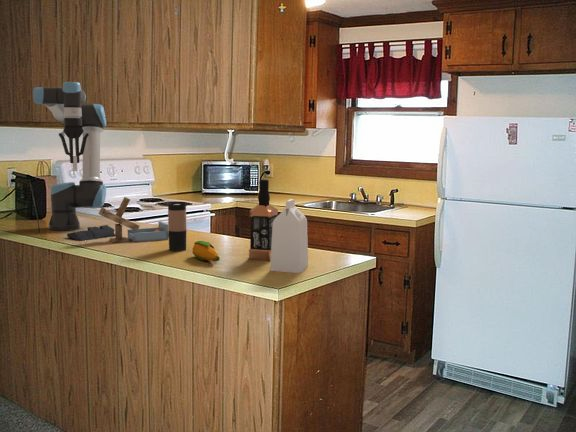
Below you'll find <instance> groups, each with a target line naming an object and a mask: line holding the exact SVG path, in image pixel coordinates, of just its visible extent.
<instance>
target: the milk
mask: <svg viewBox="0 0 576 432" xmlns="http://www.w3.org/2000/svg"><path fill="white" fill-rule="evenodd" d="M308 236H309V235H308V219H307V217H306V216H305V214H303V212H302V211H301V210H300V209H299V208H297V206H296V203H295V199H294V198H290V199H288V200H286V201H285V209H283V211H281V212H280V213H279V214H277V217H276V218H275V219H274V221H273V226H272V244H271V261H270V265H269V271H270V272H272V271H273V272H282V273H293V274H295V273H296V274H301V273H302V272H303V271H305V269H307V268H308V267H309V254H308V253H309V243H308V242H309V241H308Z"/></svg>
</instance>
